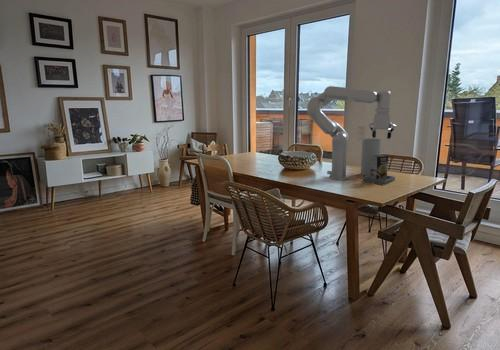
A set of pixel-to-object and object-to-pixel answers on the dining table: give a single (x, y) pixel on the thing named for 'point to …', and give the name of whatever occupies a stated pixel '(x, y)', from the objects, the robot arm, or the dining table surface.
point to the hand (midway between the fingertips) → (381, 138)
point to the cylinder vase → (369, 154)
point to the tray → (383, 182)
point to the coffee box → (379, 167)
